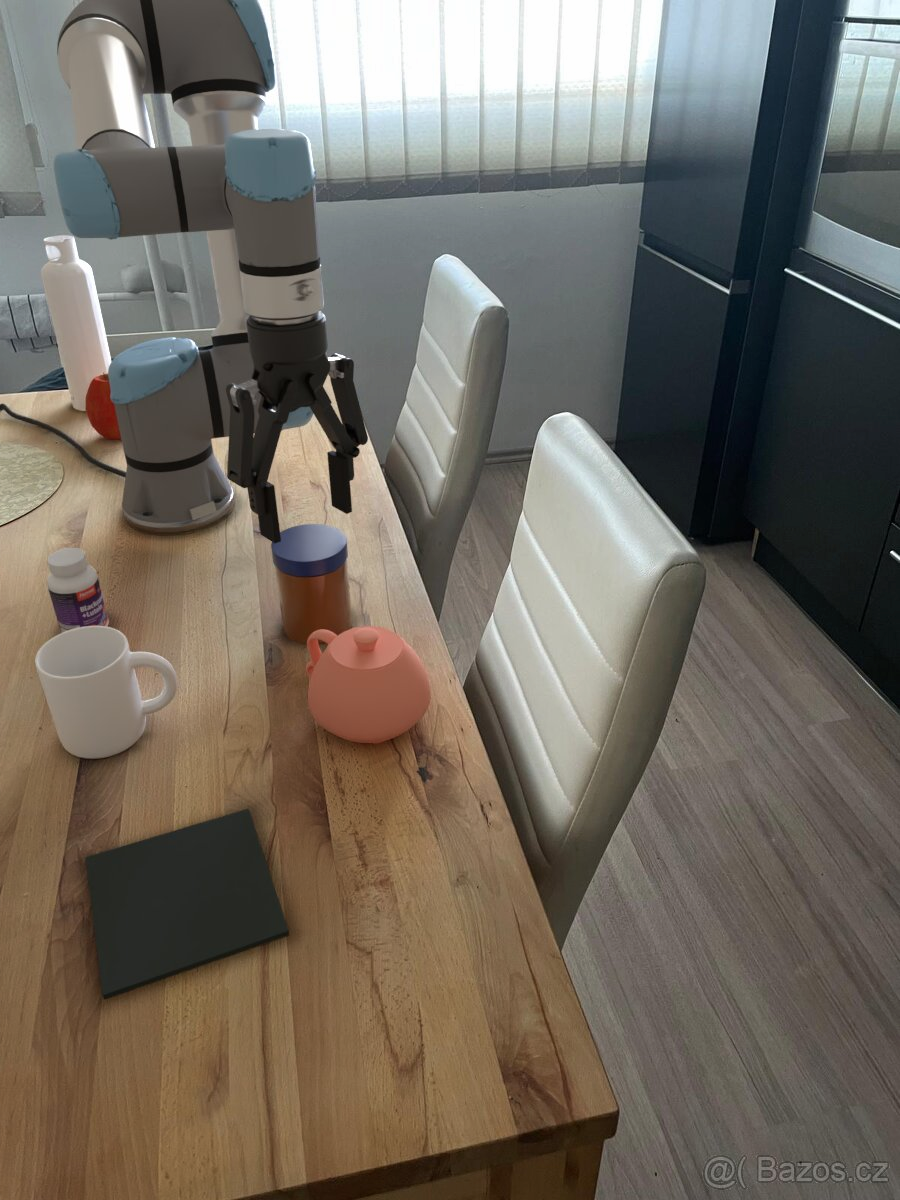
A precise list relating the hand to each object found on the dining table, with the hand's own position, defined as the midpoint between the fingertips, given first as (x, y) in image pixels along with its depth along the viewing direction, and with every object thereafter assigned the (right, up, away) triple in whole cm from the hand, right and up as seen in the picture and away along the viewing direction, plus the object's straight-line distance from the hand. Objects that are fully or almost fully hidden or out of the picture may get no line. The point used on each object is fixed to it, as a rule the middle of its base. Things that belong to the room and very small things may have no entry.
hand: (307, 522), depth 99 cm
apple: (-40, +19, +53) cm, 69 cm away
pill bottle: (-27, -12, +7) cm, 30 cm away
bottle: (-48, +27, +65) cm, 85 cm away
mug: (-17, -22, -7) cm, 29 cm away
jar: (0, -11, +8) cm, 14 cm away
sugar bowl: (+7, -20, -5) cm, 22 cm away
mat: (-6, -33, -24) cm, 41 cm away
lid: (0, -2, +2) cm, 3 cm away
